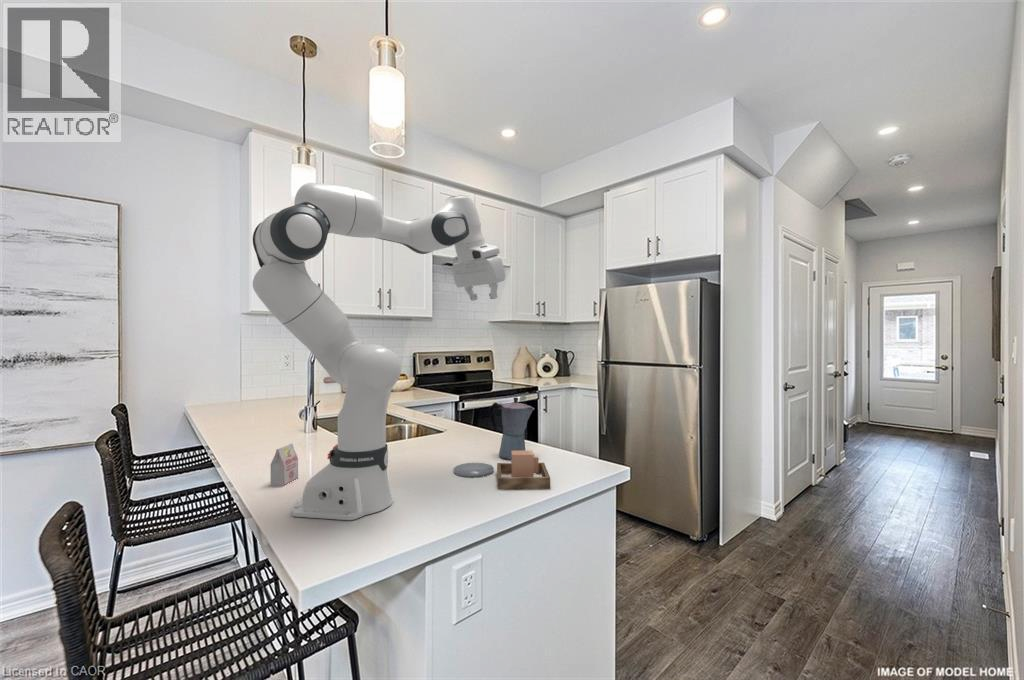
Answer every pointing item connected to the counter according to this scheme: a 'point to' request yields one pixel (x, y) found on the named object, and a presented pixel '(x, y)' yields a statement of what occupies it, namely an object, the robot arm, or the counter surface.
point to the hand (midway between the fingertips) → (483, 299)
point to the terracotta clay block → (523, 464)
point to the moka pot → (512, 426)
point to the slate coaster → (473, 470)
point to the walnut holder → (522, 478)
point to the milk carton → (284, 466)
